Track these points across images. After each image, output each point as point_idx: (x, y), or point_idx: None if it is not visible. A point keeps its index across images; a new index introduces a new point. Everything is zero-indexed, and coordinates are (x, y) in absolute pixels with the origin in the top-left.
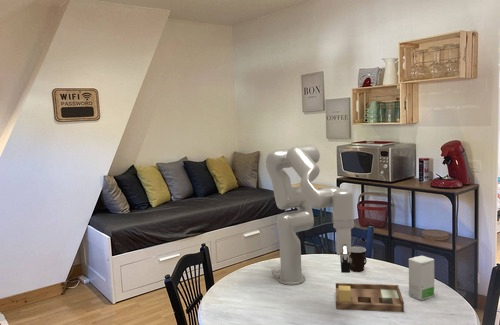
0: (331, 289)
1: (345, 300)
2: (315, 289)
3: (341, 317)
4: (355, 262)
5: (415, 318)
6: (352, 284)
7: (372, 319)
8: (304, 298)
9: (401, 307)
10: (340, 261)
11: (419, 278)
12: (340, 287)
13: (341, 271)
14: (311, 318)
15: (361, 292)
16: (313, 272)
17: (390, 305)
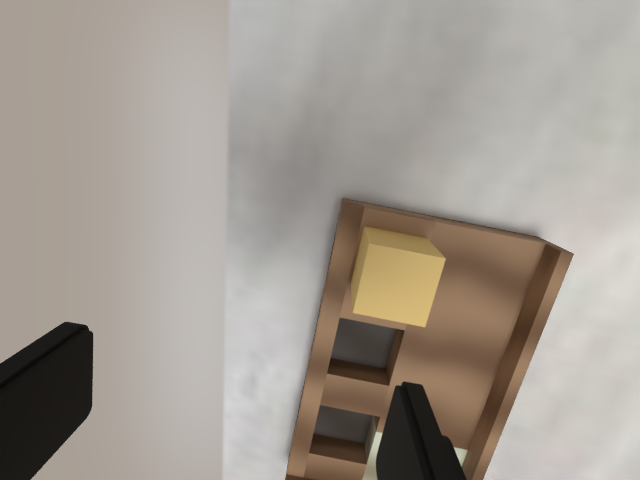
0: (586, 221)
1: (356, 261)
2: (616, 124)
3: (255, 208)
4: None
5: (237, 475)
6: (524, 344)
7: (233, 333)
8: (504, 34)
9: (287, 467)
10: (418, 393)
11: None
12: (412, 263)
13: (61, 329)
14: (250, 48)
15: (451, 360)
16: None
17: (294, 437)
